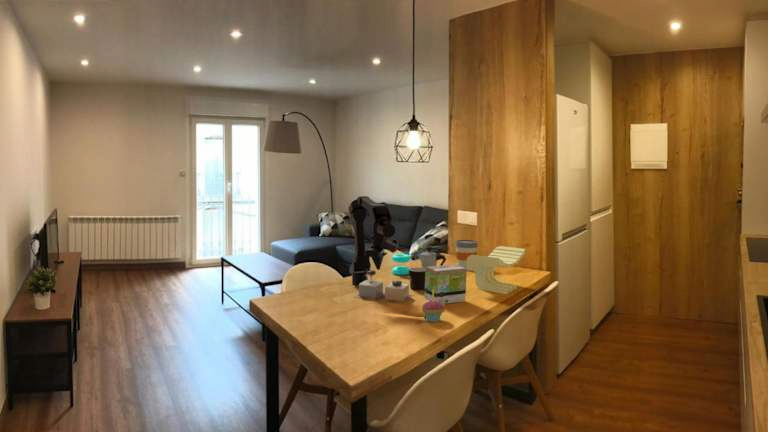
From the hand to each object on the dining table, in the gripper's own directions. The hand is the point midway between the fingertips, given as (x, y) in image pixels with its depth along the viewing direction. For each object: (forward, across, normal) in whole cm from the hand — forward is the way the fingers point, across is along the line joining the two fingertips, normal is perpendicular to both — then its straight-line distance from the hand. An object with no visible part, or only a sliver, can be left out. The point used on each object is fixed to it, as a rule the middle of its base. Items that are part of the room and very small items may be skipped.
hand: (378, 269), depth 210 cm
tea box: (+13, +6, -28) cm, 32 cm away
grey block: (+12, 0, +3) cm, 12 cm away
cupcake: (+12, -21, -30) cm, 39 cm away
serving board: (+13, 0, -3) cm, 13 cm away
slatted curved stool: (+13, +35, -46) cm, 60 cm away
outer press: (+12, -1, -9) cm, 14 cm away
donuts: (+14, +49, +5) cm, 51 cm away
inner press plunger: (+8, 0, +3) cm, 9 cm away
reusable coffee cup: (+14, +77, -25) cm, 82 cm away
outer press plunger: (+12, -1, -9) cm, 15 cm away
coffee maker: (+13, +34, -15) cm, 40 cm away
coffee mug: (+13, +19, -13) cm, 26 cm away
